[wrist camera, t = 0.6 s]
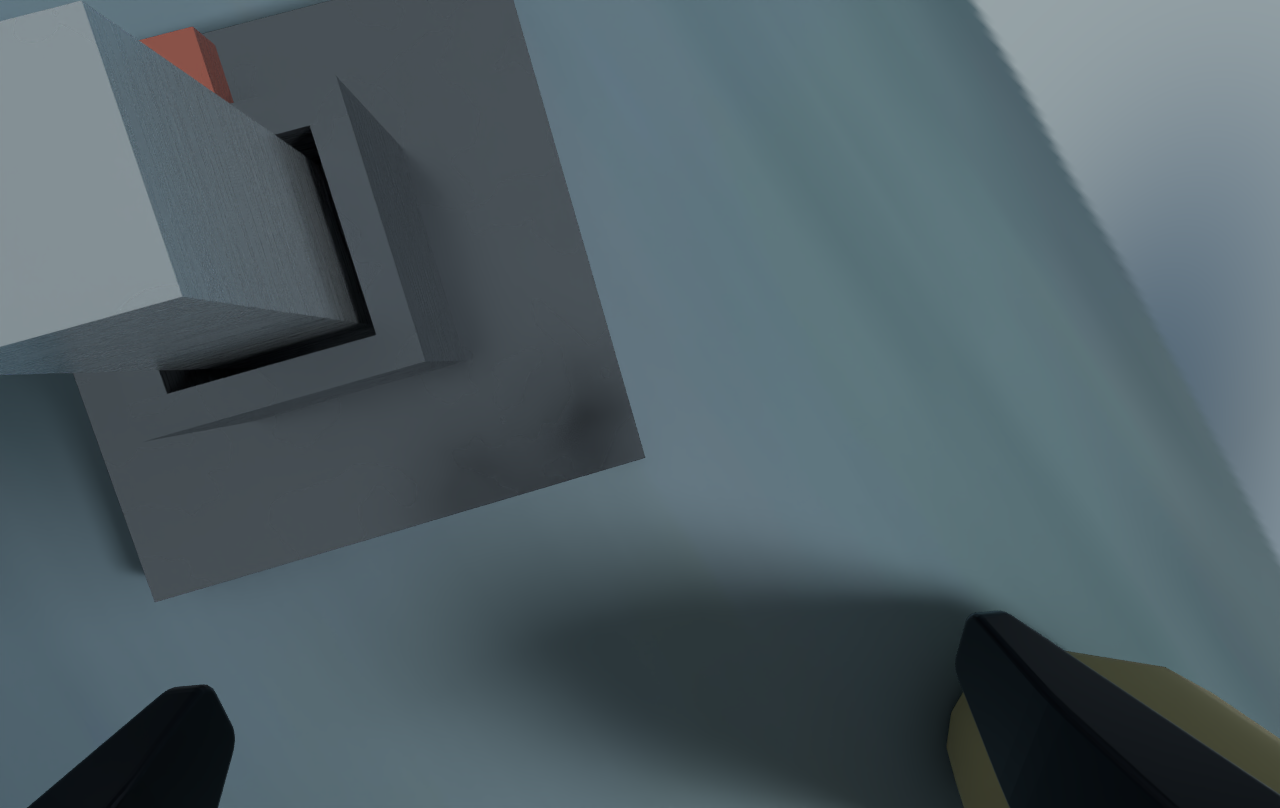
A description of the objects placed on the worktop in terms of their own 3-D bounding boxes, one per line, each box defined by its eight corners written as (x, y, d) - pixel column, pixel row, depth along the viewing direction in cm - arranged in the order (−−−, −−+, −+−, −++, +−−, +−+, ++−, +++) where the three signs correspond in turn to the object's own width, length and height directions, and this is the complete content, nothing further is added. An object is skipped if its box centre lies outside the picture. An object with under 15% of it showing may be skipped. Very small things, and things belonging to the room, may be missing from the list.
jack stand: (641, 450, 21) (660, 488, 15) (187, 584, 20) (15, 679, 14) (507, -13, 20) (469, -176, 14) (22, 114, 19) (-242, 1, 13)
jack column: (408, 329, 18) (182, 297, 8) (277, 367, 18) (-115, 378, 8) (365, 195, 18) (78, -9, 8) (232, 231, 18) (-232, 70, 8)
